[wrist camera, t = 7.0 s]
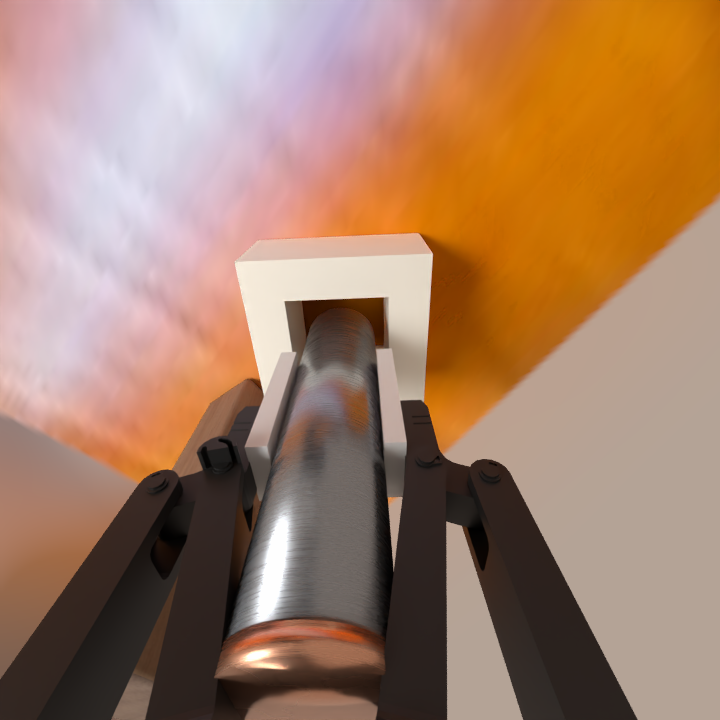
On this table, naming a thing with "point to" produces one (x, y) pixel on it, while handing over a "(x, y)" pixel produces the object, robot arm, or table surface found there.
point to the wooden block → (142, 679)
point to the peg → (318, 546)
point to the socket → (339, 295)
